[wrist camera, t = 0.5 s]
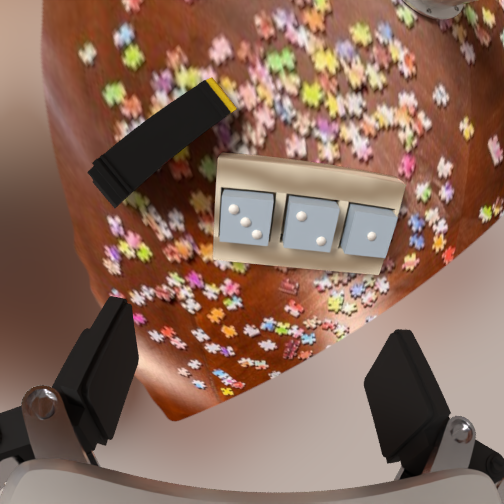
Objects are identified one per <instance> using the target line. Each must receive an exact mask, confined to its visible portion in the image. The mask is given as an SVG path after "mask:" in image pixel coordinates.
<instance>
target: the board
mask: <svg viewBox="0 0 504 504" xmlns="http://www.w3.org/2000/svg"><path fill="white" fill-rule="evenodd" d="M405 187H406V184H405V183H403V182H402V181H401V180H399V179H398V178H397V177H394V176H390V175H385V174H380V173H375V172H369V171H364V170H358V169H353V168H347V167H341V166H335V165H328V164H322V163H315V162H308V161H301V160H293V159H285V158H276V157H267V156H257V155H247V154H235V153H222V152H221V154H220V155H219V157H218V160H217V177H216V196H215V218H214V243H213V260H221V261H231V262H241V263H252V264H262V265H272V266H283V267H294V268H305V269H316V270H327V271H338V272H349V273H361V274H373V275H379V273H380V270H381V267H382V264H383V261H384V258H379V257H370V256H360V255H350V254H344V252H343V249H342V247H341V245H340V244H341V240H342V236H343V232H344V228H345V224H346V220H347V216H348V211H349V207H350V204H356V205H363V206H369V207H376V208H382V209H388V210H391V211H392V212H393V213H394V214H395V215H396V216H398V213H399V209H400V206H401V202H402V198H403V194H404V191H405ZM224 189H228V190H239V191H250V192H260V193H270V194H273V199H274V202H273V210H272V217H271V225H270V233H269V240H268V246H261V245H251V244H241V243H230V242H220V221H221V203H222V194H223V192H224ZM289 196H296V197H305V198H313V199H320V200H328V201H335V202H336V203H337V205H338V206H339V208H340V211H339V216H338V220H337V224H336V229H335V233H334V237H333V242H332V246H331V250H330V252H321V251H311V250H301V249H291V248H284V246H283V233H284V226H285V220H286V213H287V206H288V200H289Z"/></svg>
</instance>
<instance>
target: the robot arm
mask: <svg viewBox="0 0 504 504" xmlns="http://www.w3.org/2000/svg"><path fill="white" fill-rule="evenodd" d="M403 1H404V2H405V3H406V4H407V5H409V6H410V7H411V8H412V9H414V10H415V11H417V12H418V13H420V14H422V15H424V16H426V17H429V18H432V19H438V20H446V19H450V18H453V17H455V16H457V15H458V14H459V13H460V12H461V10H462V8H463V5H464V4H465V3H468V2H472V1H476V0H403ZM138 360H139V355H138V349H137V342H136V335H135V328H134V320H133V312H132V305H131V304H128V303H127V300H126V299H123V298H118V297H113V296H110V297H109V298H108V300H107V301H106V303H105V305H104V306H103V308H102V310H101V311H100V313H99V315H98V317H97V318H96V320H95V321H94V323H93V325H92V327H91V328H90V329H88V328H87V329H85V330H84V331H83V332H82V333H81V335H80V337H79V339H78V340H77V342H76V344H75V346H74V347H73V349H72V351H71V353H70V354H69V356H68V358H67V360H66V362H65V363H64V365H63V367H62V369H61V371H60V373H59V375H58V376H57V378H56V380H55V383H54V384H53V386H52V387H50V386H46V385H39V386H35V387H33V388H31V389H29V390H28V391H27V392H26V393H25V395H24V397H23V399H22V402H21V406H19V407H17V408H14V409H11V410H8V411H5V412H2V413H0V490H1V489H2V488H3V487H4V489H3V491H2V494H1V496H0V504H504V458H503V457H502V456H501V455H500V454H499V453H497V452H496V451H494V450H492V449H490V448H489V447H487V446H485V445H484V444H482V443H480V442H479V441H477V440H475V438H476V432H475V429H474V426H473V425H472V423H471V422H470V421H469V420H468V419H466V418H465V417H462V416H455V417H452V418H451V419H450V418H449V414H450V413H451V412H450V410H449V407H448V405H447V403H446V401H445V398H444V396H443V394H442V392H441V390H440V387H439V385H438V383H437V381H436V379H435V377H434V375H433V373H432V371H431V368H430V366H429V364H428V362H427V360H426V358H425V356H424V354H423V353H422V350H421V348H420V346H419V344H418V343H417V341H416V339H415V337H414V335H413V333H412V332H411V331H410V330H399V329H398V330H395V331H394V333H392V334H390V336H389V338H388V340H387V341H386V343H385V345H384V347H383V348H382V350H381V352H380V354H379V355H378V357H377V359H376V361H375V362H374V364H373V366H372V368H371V369H370V371H369V373H368V374H367V376H366V377H365V381H364V388H365V391H366V395H367V398H368V402H369V405H370V409H371V413H372V416H373V420H374V423H375V428H376V432H377V435H378V439H379V443H380V447H381V451H382V455H383V456H384V457H386V460H387V463H394V462H399V461H401V465H402V466H401V468H400V470H399V472H398V474H397V475H396V477H395V479H394V481H391V482H386V483H380V484H375V485H369V486H362V487H355V488H347V489H338V490H327V491H314V492H295V493H294V492H292V493H263V492H262V493H261V492H240V491H226V490H216V489H206V488H198V487H191V486H185V485H179V484H173V483H168V482H162V481H157V480H152V479H147V478H143V477H138V476H133V475H130V474H126V473H122V472H118V471H114V470H110V469H106V468H102V467H100V465H99V463H98V461H97V459H96V457H95V455H94V453H93V450H95V447H96V445H97V443H99V444H102V445H106V443H107V440H108V439H110V440H111V439H112V438H113V436H114V433H115V430H116V427H117V424H118V421H119V418H120V414H121V412H122V408H123V405H124V402H125V399H126V396H127V394H128V391H129V387H130V385H131V382H132V379H133V376H134V374H135V371H136V368H137V365H138ZM5 482H7V483H6V485H5V484H4V483H5Z"/></svg>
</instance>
